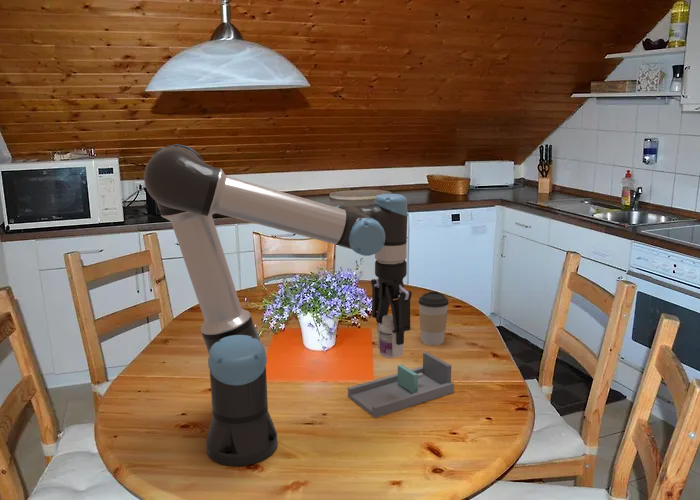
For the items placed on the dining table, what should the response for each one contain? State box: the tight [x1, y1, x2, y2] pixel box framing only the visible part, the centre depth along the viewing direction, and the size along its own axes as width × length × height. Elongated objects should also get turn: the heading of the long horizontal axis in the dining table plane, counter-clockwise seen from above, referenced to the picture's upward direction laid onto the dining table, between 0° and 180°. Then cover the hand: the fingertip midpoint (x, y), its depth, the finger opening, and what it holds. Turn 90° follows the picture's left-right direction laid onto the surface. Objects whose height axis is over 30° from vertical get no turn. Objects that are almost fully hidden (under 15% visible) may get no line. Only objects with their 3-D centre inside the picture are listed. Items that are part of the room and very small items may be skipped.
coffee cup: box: [418, 290, 449, 346], centre depth 187 cm, size 9×9×15 cm
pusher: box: [397, 363, 423, 393], centre depth 156 cm, size 5×7×5 cm
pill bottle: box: [379, 314, 396, 359], centre depth 149 cm, size 5×5×10 cm
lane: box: [347, 351, 455, 419], centre depth 154 cm, size 24×12×7 cm, turn 121°
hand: (390, 351), depth 150 cm, fingers closed on pill bottle, 5 cm apart
